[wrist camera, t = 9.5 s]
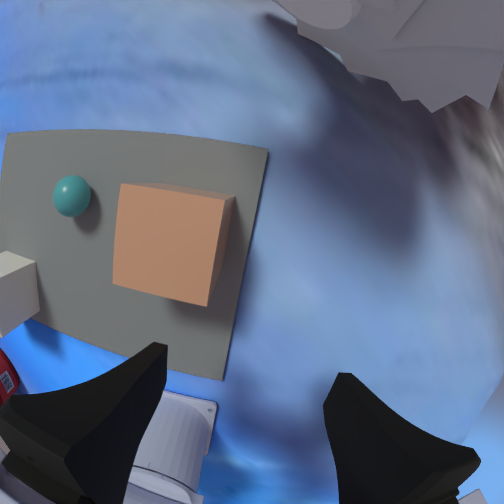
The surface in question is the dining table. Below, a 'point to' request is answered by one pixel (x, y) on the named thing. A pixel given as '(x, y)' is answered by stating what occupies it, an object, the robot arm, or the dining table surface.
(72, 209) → the teal ball
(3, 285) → the pale gray cube
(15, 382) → the canned food
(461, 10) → the white bladed rotor
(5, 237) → the mat
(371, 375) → the dining table surface
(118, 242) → the clay colored cube
